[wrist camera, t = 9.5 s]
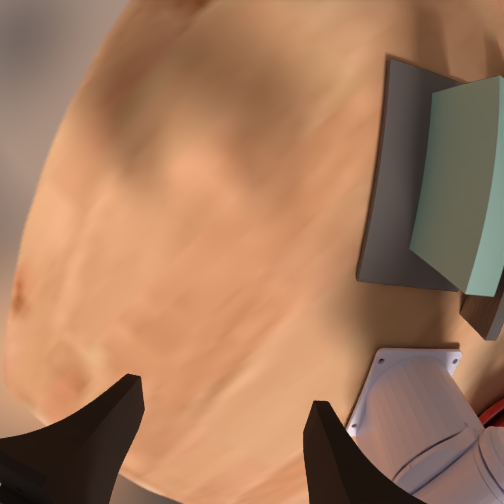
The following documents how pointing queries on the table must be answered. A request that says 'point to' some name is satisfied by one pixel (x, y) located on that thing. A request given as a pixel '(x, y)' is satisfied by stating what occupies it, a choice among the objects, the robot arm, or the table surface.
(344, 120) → the table surface
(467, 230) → the teal board
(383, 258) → the mat
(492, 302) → the rack
